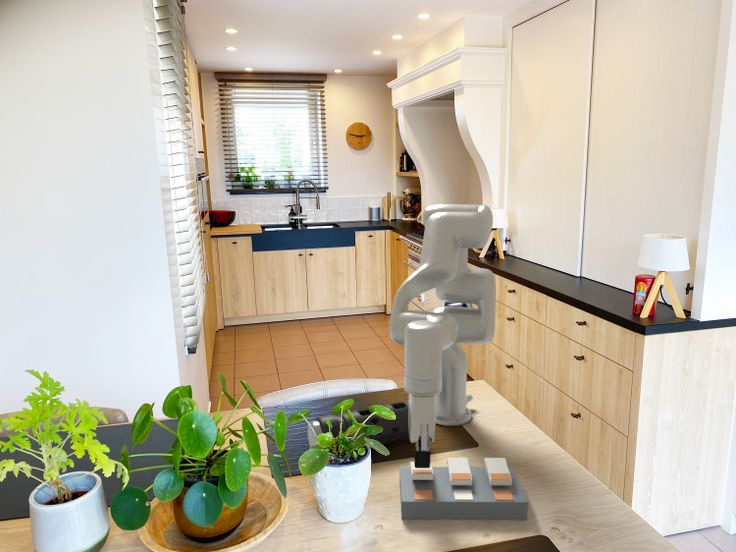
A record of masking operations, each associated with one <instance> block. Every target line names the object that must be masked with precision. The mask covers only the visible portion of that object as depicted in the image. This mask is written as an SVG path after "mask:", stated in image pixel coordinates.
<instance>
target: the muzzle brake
mask: <svg viewBox="0 0 736 552" xmlns="http://www.w3.org/2000/svg"><path fill="white" fill-rule="evenodd" d="M382 406H383V407H386V408H389V409H390V410H391V411H393V412H394V413H395V415H396V419H395V420H387V419H384V418H381V417H379V416H377V415H372V416H371V417H370V418H369V419H368V420H367V421H366V422H365V424H366V425H377V426H381V427H382V428H383V431H382V432H381V433H378V434H376V435H370V436H367V438H370V439H374V440H377V441H379V442H380V443H382V444H381V445H386V444H391V443H395V442H400V441H404V440H408V439H409V429H408V414H409V399H408V400H404V401H399V402H394V403H390V404H389V403H388V404H384V405H383V404H382ZM369 408H370V407H369ZM369 408H363V409H358V410H354V411H350V412H351V413H352V415H353V417H354V418H355V419H356V421H357V422H358V423H363V422H364V421H365V420H366V419H367V418H368V416H370V415H371V412H370V411H369ZM341 414H342V413H340V414H339V415H338V416H337V415H335V414H328V415H327V414H326V415H322V416H317V417H316V418H315V419H314V420H312V421H309V422H308V424H310V425H311V427H312V428H313V430H314V431H315V432H316V433H317V434H321V433H327V432H329V427H328V425H327V424H326V422H325V419H329V420H330V422H331V424H332V426H333V427H332V429H331V432H332V435H333V437H334V438H336V437H337V436H338V435H339V431H340V423H341ZM342 422H343V424H342V430H343V432H346V430H347V429H348V428H349V427H350V426H352V421H351V419H348V415H347V412H343V414H342ZM307 440H308V445H309V448H310V449H311V447H312V446H314V445H315V444H316V443H317V437H316V435H315V434H314V432H313V431H312V430H311V428H310V427H309V425H307ZM409 440H410V439H409Z"/></svg>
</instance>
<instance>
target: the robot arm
mask: <svg viewBox="0 0 736 552" xmlns="http://www.w3.org/2000/svg"><path fill="white" fill-rule="evenodd" d="M422 222H423V227H424V233H423V240H422V247H421V254H420V259H419V266H418V269H416V270H415V271H413V272H412V274H410V275H409V276H408V277H407V278H406V279H405V280H404V281H403V282H402V284H401V285H400V286H399V287H398V289H397V291H396V293H395V295H394V298H393V301H392V307H391V312H390V317H389V318H390V319H389V326H388V327H389V328H388V331H389V337H390V339H391V340H392V342H394V343H395V344H396V345H398V346H399V345H400V346H404V376H403V377H404V378H403V379H404V383H403V384H404V385H403V387H404V388H403V389H404V392H406V393H407V394H408V400H409V412H408V429H409V442H410V443H411V444H414V443H415V444H414V445H415V446H413V447H414V450H413V458H414V459H413V460H414V461H413V462H414V464H415V468H430V462H431V444H432V443H434V442H435V435H436V424H437V425H441V426H448V427H451V426H453V427H455V426H462V425H465V424H466V423H469V422H470V421H471V419H472V412H471V410H470V409H469V408H468V407H467V406H468V403H469V402H471V401H473V399H474V397H473V395H472V394H467V374H468V372H467V371H468V368H467V367H468V366H467V365H468V356H467V354H466V351H465V350H464V348H463V346H462V345H461V344H462V343H463V344H474V345H475V344H476V345H478V344H479V345H486V344H490V343H491V342H492V341H493V339H494V337H495V332H496V310H497V309H496V306H497V304H496V303H497V283H496V282H497V281H496V277H495V274H494V273H493V271H491V269H488V268H482V267H480V268H479V267H469V265H468V261H469V258H468V256H469V252H468V251H469V249H474V250H475V249H476V250H477V249H483V248H484V247H486V246H487V244H488V242H489V239H490V235H491V233H492V230H493V224H494V216H493V212H492V209H491V208H490V207H489V206H488V205H486V204H475V203H474V204H471V203H470V204H469V203H468V204H467V203H465V204H464V203H463V204H462V203H461V204H459V203H439V204H438V203H437V204H431V205H428V206H426V207H425V208H424V209H423V212H422ZM433 289H435V295H436V297H437V299H438V300H439V301H442V302H445V303H454V304H470V305H476V306H477V307H464V306H453V305H452V306H451V305H450V306H448V305H446V306H445V305H444V306H438V307H435V308H434V309H433V310H432V311H425V310H424V311H421V310H408V307H409V305H410V303H411V302H412V301H413V300H414V299H415V298H416V297H418V296H419V295H421V294H423V293H426V292H429V291H430V290H433Z"/></svg>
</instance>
